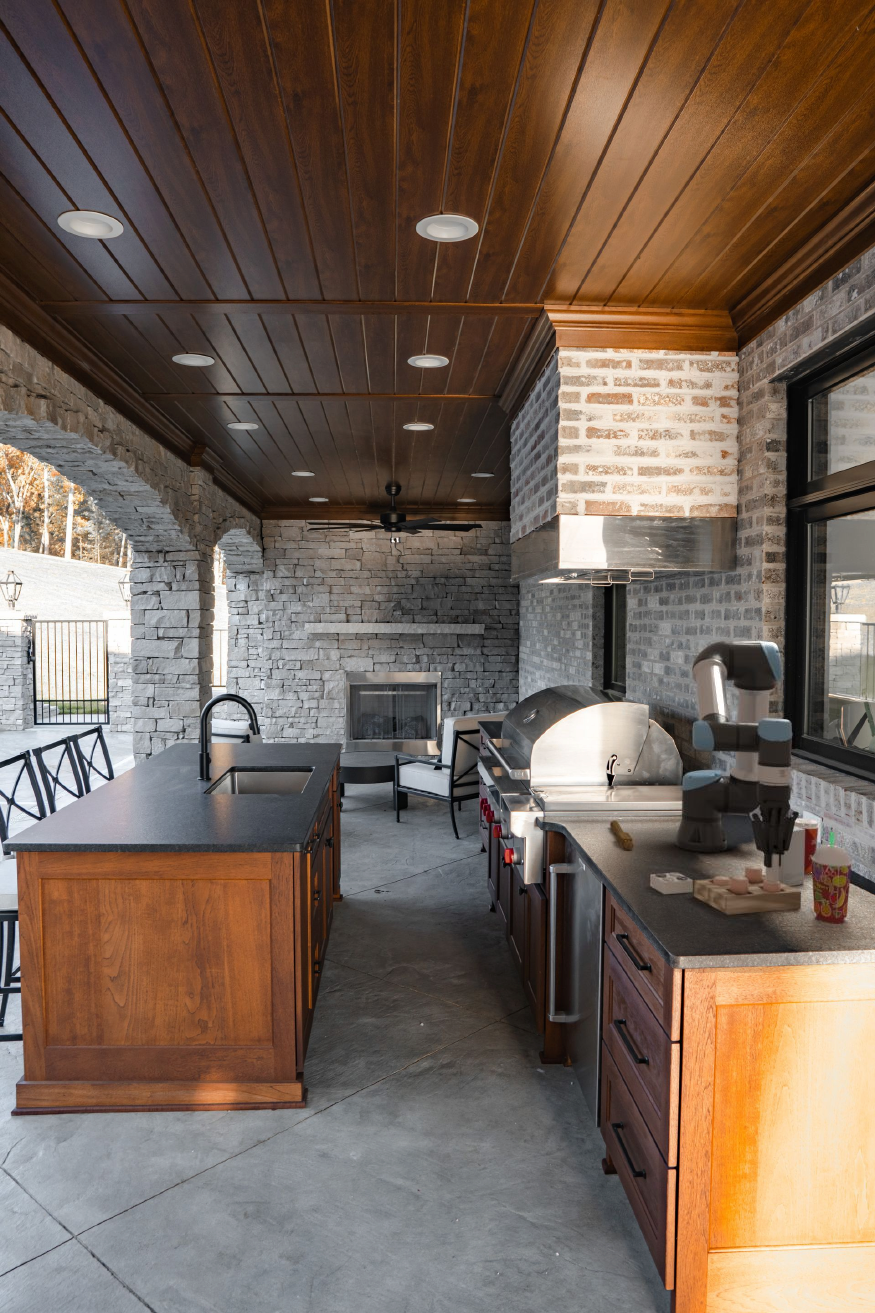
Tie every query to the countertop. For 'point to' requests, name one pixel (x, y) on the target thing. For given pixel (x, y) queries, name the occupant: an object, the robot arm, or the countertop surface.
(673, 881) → the white flat block
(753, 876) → the button
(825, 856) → the smoothie
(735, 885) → the button
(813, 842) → the paper cup
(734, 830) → the countertop surface
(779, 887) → the button
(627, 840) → the tap handle
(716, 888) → the board
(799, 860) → the skincare box
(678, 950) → the countertop surface
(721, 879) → the button
